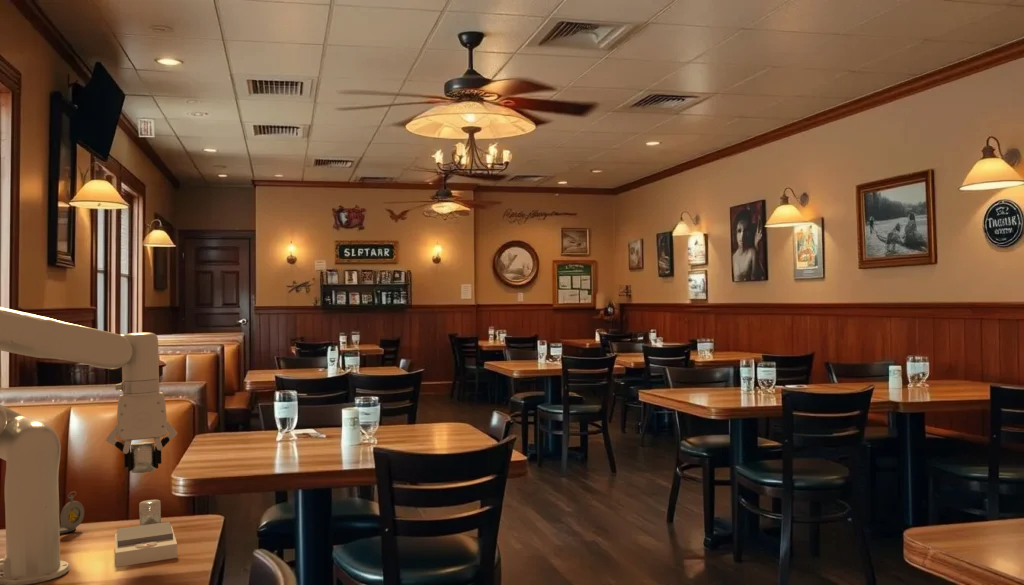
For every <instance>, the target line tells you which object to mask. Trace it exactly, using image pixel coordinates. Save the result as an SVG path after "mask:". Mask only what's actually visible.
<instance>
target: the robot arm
mask: <svg viewBox="0 0 1024 585" xmlns="http://www.w3.org/2000/svg"><path fill="white" fill-rule="evenodd" d="M0 351H1V352H7V353H11V354H16V355H22V356H25V357H32V358H40V359H55V360H62V361H69V362H74V363H79V364H84V365H87V366H90V367H92V368H97V369H108V370H117V369H120V368H121V375H122V376H121V378H122V382H120V383H116V384H115V387H114V388H115V391H120V392H122V394H120V395H119V396H118V402H117V408H116V409H117V410H116V413H117V414H116V425H115V426H114V428H112V430H111V432H110V433H109V434H108V436H107V437H106V439H105V440H106V442H107V443H110V444H111V445H112V446H114V447H115V448H117V449H118V450H120V451H121V452H122V453H123V456H124V457H123V458H124V468H127V471H128V472H129V473H130V472H131V471H132V457H131V444H132V441H139V440H150V439H153V442H154V458H155V469H159V465H160V464H162V450H163V448H164V447H165V446H166V445H167V444H168V443H169V442H170V441H171V440H172V439H174V438H175V437H176V436H177V435H178V431H177V430H176V429H175V428H174V427H173V426H172V424H170V423H169V421H168V419H167V417H168V416H167V406H166V400H165V399H166V398H165V395H164V392H162V391H160V367H159V366H160V365H159V364H160V362H159V361H160V360H159V338H158V336H157V335H156V333H155V332H154V333H153V332H131V333H126V334H119V333H115V332H110V331H106V330H102V329H97V328H92V327H88V326H83V325H79V324H74V323H70V322H65V321H62V320H57V319H54V318H50V317H47V316H42V315H37V314H34V313H29V312H24V311H20V310H16V309H11V308H6V307H3V306H0ZM167 432H168V434H167ZM116 436H117V438H118V439H117V438H116ZM162 437H163V438H162ZM161 438H162V439H161ZM121 441H124V443H123V442H121ZM61 450H62V446H61V441H60V437H59V435H58V432H56V429H55V428H54V427H52V426H51V425H49V424H47V423H46V422H43V421H40V420H36V419H32V418H29V417H27V416H25V415H23V414H21V413H18V412H16V411H15V410H13V409H10V408H9V407H6V406H5V405H2V404H0V459H1V460H4V461H6V462H5V463H6V465H5V467H6V468H5V476H4V510H5V511H4V512H5V548H6V550H5V552H6V553H5V555H4V557H2V558H1V557H0V584H1V585H32V584H38V583H43V582H47V581H50V580H54V579H56V578H59V577H61V576H63V575H66V573H67V572H68V571H69V570H70V563H69V562H67V561H65V560H61V534H60V525H61V523H60V494H59V493H60V492H59V491H60V490H59V471H60V462H61V453H62V451H61Z"/></svg>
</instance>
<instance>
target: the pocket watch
mask: <svg viewBox="0 0 1024 585" xmlns="http://www.w3.org/2000/svg"><path fill="white" fill-rule="evenodd" d="M72 493H75V494H74V495H73V494H72ZM76 495H77V491H75V490H73V491H70V492H69V493H68V495H67V498H68V499H69V500H70V501H69V502H67V503H66V504H65V505H64V506H63V507H62V510H61V512H60V515H59V522H60V535H62V534H66V533H69V532H70V533H71V532H73V531H75V530H76V529H77V528H78V527H79V526H80V525H81V523H82V522H83V520H84V517H85V508H84V506H83V504H82V503H81V502H80V501H78V500H74V497H76Z"/></svg>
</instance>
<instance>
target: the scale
mask: <svg viewBox="0 0 1024 585" xmlns="http://www.w3.org/2000/svg"><path fill="white" fill-rule="evenodd" d="M116 530H117V531H116V533H114V550H115V551H114V552H115V553H114V555H115V568H119V567H125V566H130V565H131V566H132V565H138V564H144V563H145V564H146V563H151V562H157V561H164V560H170V559H175V558H176V559H177V558H178V542H177V539H176V535H175V531H174V529H173V526H172V524H171V522H170V521H164V522H161V523H156V524H149V525H142V526H140V525H136V526H129V527H128V526H127V527H122V528H117V529H116Z"/></svg>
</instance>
